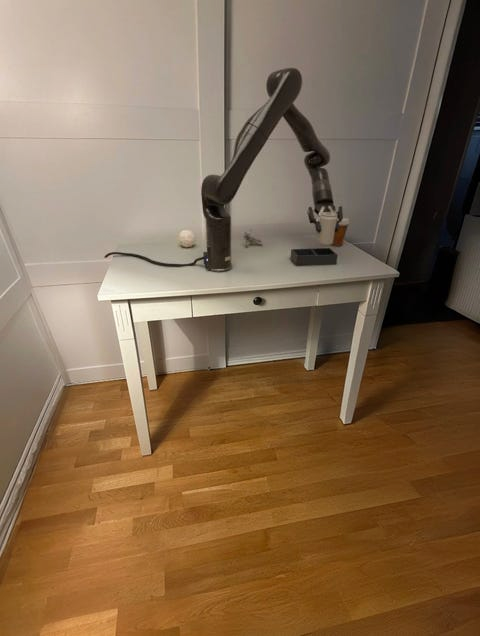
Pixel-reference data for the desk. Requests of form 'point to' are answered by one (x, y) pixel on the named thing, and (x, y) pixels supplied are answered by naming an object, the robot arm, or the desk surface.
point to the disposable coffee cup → (340, 232)
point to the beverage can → (327, 228)
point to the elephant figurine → (251, 239)
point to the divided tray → (313, 256)
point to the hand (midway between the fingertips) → (328, 231)
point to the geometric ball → (187, 238)
